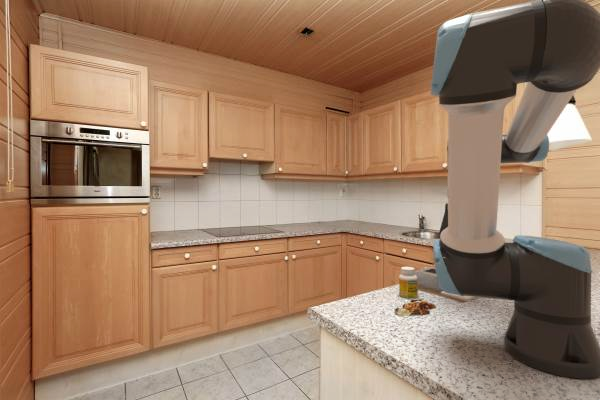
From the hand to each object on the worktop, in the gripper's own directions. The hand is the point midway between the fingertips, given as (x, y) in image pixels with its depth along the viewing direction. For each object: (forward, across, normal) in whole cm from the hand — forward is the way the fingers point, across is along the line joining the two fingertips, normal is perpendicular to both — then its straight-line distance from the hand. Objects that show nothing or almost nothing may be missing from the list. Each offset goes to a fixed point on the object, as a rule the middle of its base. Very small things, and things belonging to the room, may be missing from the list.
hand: (461, 255), depth 94 cm
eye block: (+12, +1, +10) cm, 15 cm away
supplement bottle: (+13, -14, +9) cm, 21 cm away
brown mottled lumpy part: (+14, -21, +2) cm, 25 cm away
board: (+13, +1, +6) cm, 14 cm away
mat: (+12, 0, 0) cm, 12 cm away
